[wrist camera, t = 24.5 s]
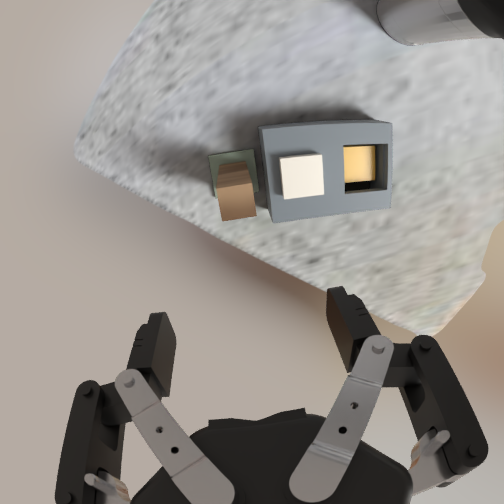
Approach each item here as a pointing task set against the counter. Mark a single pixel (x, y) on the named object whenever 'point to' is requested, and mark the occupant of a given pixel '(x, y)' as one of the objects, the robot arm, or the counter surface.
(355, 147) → the plunger
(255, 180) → the rubber mat
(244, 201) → the tall wooden block
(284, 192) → the on button
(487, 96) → the counter surface
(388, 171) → the switch panel
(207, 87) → the counter surface
